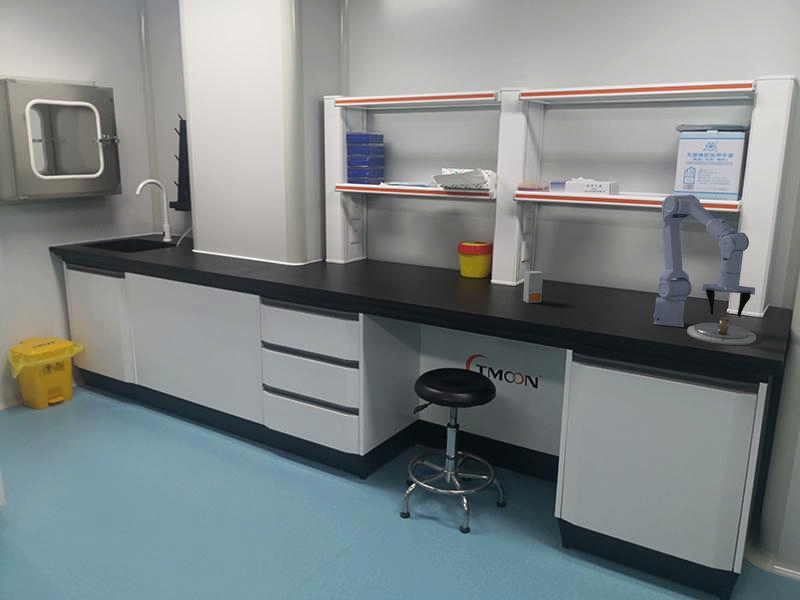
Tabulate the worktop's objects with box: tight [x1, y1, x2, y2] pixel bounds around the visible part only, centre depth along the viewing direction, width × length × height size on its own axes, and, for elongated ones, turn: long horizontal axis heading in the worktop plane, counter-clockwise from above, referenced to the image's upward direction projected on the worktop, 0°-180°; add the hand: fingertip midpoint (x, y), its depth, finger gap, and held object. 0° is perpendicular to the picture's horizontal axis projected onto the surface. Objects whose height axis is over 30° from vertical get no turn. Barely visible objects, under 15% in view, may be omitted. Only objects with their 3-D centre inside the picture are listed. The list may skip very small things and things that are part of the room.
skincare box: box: [522, 270, 544, 304], centre depth 254 cm, size 6×4×12 cm
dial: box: [694, 317, 749, 339], centre depth 208 cm, size 16×16×6 cm
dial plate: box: [686, 324, 757, 346], centre depth 209 cm, size 20×20×1 cm
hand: (725, 314), depth 202 cm, fingers open, 7 cm apart
